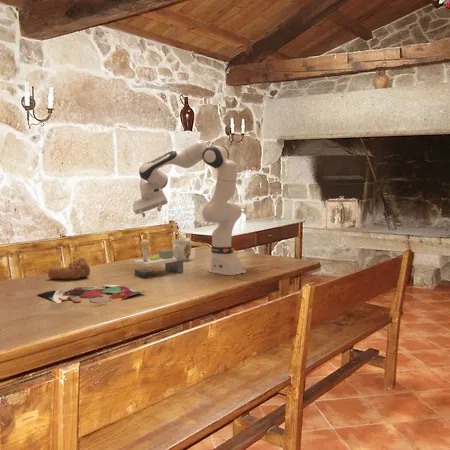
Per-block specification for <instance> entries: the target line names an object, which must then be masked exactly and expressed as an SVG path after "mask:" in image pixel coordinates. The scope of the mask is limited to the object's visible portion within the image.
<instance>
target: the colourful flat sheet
mask: <svg viewBox="0 0 450 450" xmlns="http://www.w3.org/2000/svg"><path fill="white" fill-rule="evenodd" d="M142 293H146V291H142V290H135V289H132V288H130V287H127V286H124V285H119V284H110V283H107V284H104V285H100V286H95V285H87V286H78V287H71V288H67V289H63V290H50V291H48V290H47V291H44V292H41V293H38V294H36V295H37V296H40V297H44V298H46V299H49V300H51V301H53V302H55V303H56V304H59V303H64V302H65V303H66V302H72V303H73V304H81V303H82V300H81V299H86V300H87V299H89V303H91V304H92V303H93V304H98V305H95V306H94V307H99V306H102V305H105V303H108V302H111V300H118V299H121V300H120V301H124V300H127V299H128V298H130V297H131V296H134V295H137V294H142ZM104 295H105V296H104ZM106 296H108V297H106ZM77 297H78V298H77Z"/></svg>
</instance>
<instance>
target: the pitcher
mask: <svg viewBox="0 0 450 450" xmlns="http://www.w3.org/2000/svg"><path fill="white" fill-rule="evenodd" d="M173 242H174V245H172V249H171V251H173V258H176V259H180V260H183V262H187V261H188V260H189V258H190V256H191V252H192V251H191V250H192V247H191V244H190V243H191V237H183V238H177V239H174V240H173Z"/></svg>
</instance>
